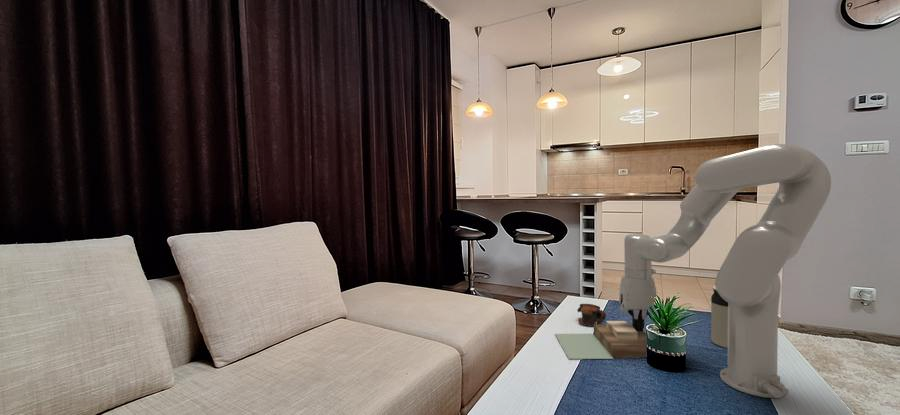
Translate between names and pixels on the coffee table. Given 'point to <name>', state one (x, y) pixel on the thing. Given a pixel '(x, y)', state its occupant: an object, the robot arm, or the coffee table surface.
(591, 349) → the rubber mat
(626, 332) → the maple tile
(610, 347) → the walnut board
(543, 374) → the coffee table surface
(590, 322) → the pottery mug
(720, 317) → the beige canister
